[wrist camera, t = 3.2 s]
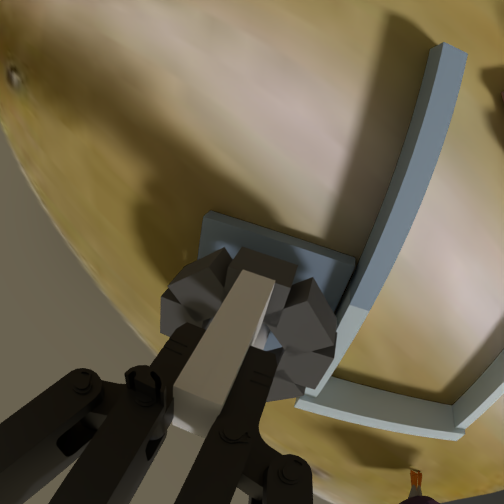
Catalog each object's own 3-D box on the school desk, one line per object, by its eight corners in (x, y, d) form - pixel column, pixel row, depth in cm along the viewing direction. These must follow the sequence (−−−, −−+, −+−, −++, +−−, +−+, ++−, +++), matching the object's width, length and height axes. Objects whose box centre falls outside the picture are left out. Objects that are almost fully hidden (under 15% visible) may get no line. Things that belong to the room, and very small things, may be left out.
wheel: (182, 226, 16) (163, 243, 15) (361, 286, 15) (360, 311, 13) (173, 345, 21) (160, 365, 20) (302, 392, 20) (297, 416, 18)
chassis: (251, 1, 13) (184, -48, 6) (608, 173, 9) (675, 219, 3) (192, 338, 25) (149, 408, 19) (453, 414, 22) (459, 484, 15)
